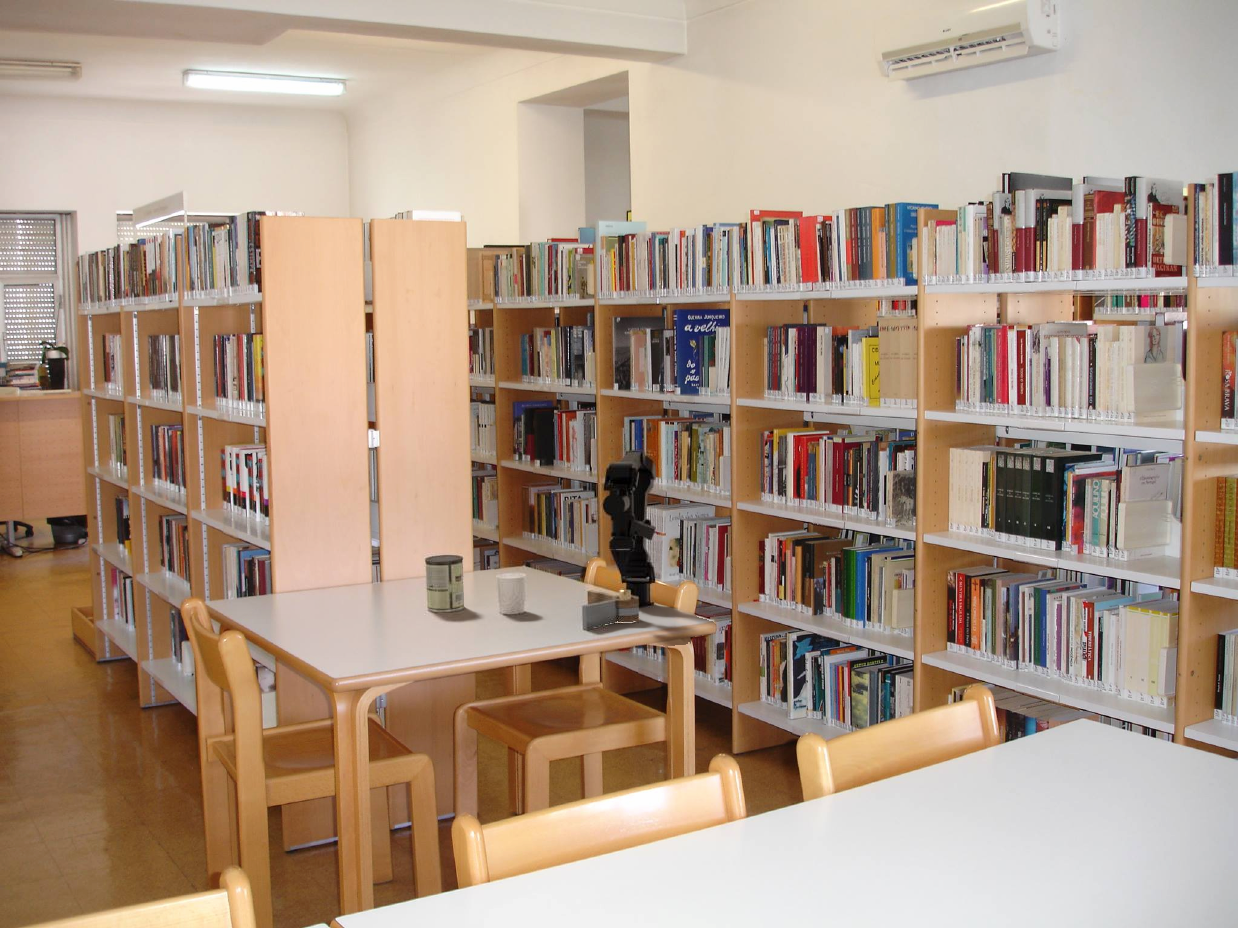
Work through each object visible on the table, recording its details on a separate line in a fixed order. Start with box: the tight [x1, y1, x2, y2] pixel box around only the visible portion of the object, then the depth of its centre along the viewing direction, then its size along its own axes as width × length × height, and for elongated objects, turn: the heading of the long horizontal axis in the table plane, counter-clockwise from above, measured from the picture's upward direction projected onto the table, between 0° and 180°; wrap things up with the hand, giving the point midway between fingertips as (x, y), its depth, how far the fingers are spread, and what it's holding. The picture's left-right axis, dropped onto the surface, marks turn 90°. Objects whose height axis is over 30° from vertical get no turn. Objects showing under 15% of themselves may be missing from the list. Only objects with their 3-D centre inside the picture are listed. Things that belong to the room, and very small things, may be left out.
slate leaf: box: [581, 600, 640, 630], centre depth 303 cm, size 18×7×6 cm, turn 132°
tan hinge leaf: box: [586, 589, 640, 622], centre depth 310 cm, size 18×7×6 cm, turn 42°
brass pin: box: [618, 588, 631, 600], centre depth 306 cm, size 3×3×8 cm
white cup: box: [496, 572, 527, 615], centre depth 319 cm, size 8×8×10 cm
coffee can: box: [424, 554, 465, 613], centre depth 325 cm, size 10×10×14 cm
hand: (623, 571), depth 306 cm, fingers open, 9 cm apart
